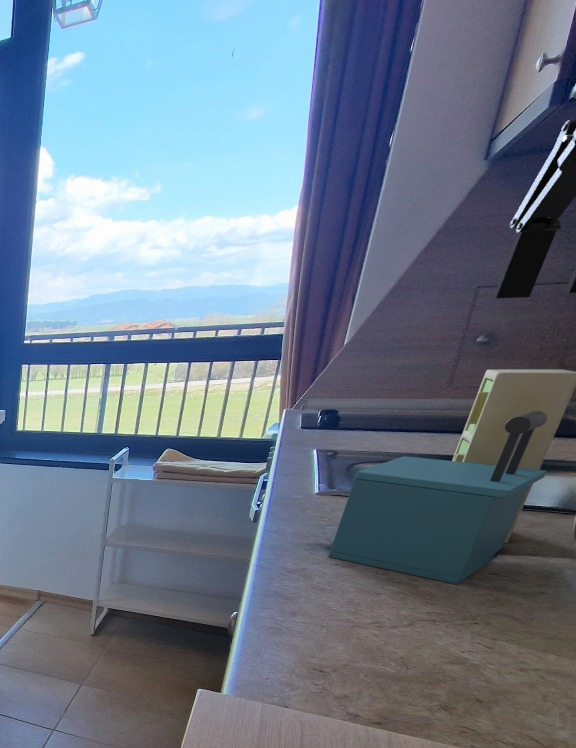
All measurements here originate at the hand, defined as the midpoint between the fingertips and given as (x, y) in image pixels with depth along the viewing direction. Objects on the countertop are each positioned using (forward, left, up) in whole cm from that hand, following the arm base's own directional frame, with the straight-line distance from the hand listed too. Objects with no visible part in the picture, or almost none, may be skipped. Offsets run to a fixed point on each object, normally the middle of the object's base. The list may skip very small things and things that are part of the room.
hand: (545, 295), depth 65 cm
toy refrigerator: (-8, -11, -29) cm, 32 cm away
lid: (+2, 0, -19) cm, 19 cm away
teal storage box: (+2, -1, -29) cm, 29 cm away
